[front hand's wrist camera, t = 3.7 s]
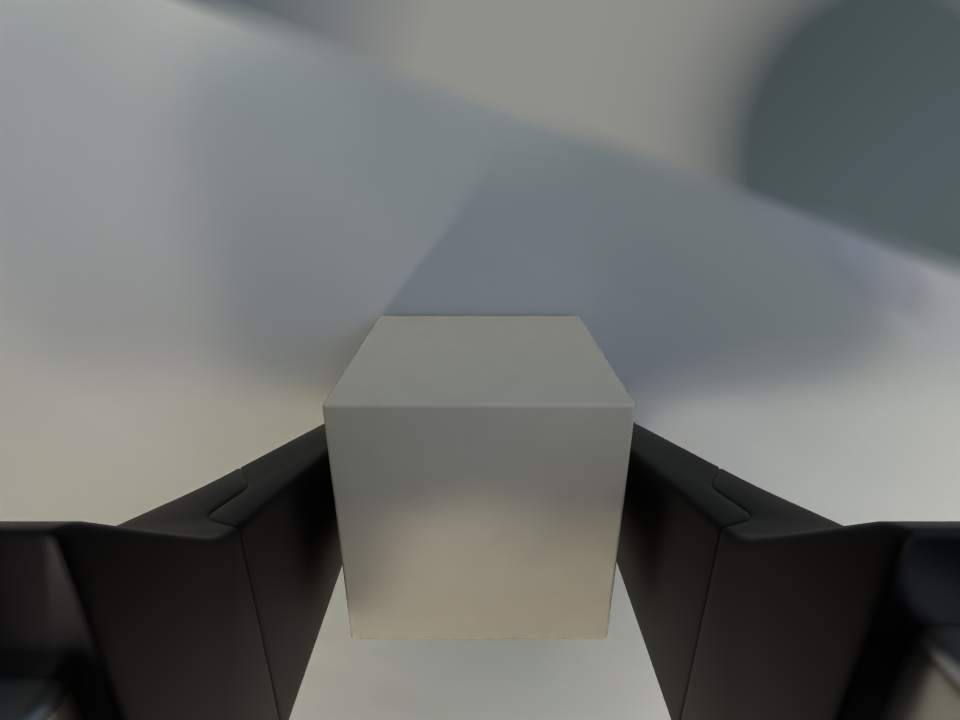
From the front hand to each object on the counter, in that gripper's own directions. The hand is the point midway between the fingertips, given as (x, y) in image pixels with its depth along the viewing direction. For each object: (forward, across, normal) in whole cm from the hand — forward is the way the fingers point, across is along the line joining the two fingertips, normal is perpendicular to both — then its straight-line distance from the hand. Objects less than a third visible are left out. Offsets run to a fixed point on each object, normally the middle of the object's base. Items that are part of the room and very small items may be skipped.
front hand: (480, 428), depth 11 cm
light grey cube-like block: (+1, 0, 0) cm, 1 cm away
